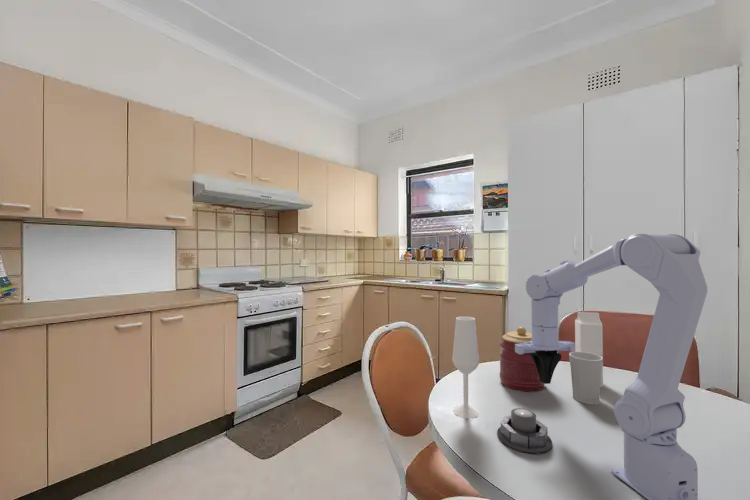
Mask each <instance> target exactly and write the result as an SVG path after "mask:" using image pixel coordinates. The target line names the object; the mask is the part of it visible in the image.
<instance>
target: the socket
mask: <svg viewBox="0 0 750 500" xmlns="http://www.w3.org/2000/svg"><path fill="white" fill-rule="evenodd" d="M548 431H549V430H548V427H547V426H546V425H545V424H543V423H542V422H541V421H540V420H538V419H536V433H530V434H526V433H523V432H519V431H516V430H513V429H512V428H511V415H505V416H504V417H503V419H502V420H501V421H500V427H498V429H497V430H496V435H497V438H498V440H499V441H500V442H501V443H502V445H504V446H506V447H508V448H510V449H512V450H514V451H515V452H516V451H517V452H520V453H523V454H527V455H528V454H530V455H541V454H546V453H548V452H549V451H551V450H552V448H553V441H552V439H551V438H550V436H549V435H548Z"/></svg>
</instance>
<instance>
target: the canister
mask: <svg viewBox="0 0 750 500" xmlns="http://www.w3.org/2000/svg"><path fill="white" fill-rule="evenodd" d="M501 338H502V339H503V340H501V341H500V342H499V344H498V345H499V347H500V352H499V379H500V383H501V384H502V385H503V386H505V387H508V388H509V389H512V390H517V391H520V392H521V391H522V392H538V391H541V390H544V388H545V385H546V384H545V383H543V382H541V381H540V378H539V374H538V371H537V368H536V365H535V363H534V361H533V359H532V357H531V355H530V353H524V354H518V353H516V352H515V344H521V343H525V342H530V341H531V340H532V332H527V330H526V328H525V327H523V326H519V327H518V328H517V329H516V330H515V331H508V332H507V333H505V334H503V335H502V336H501Z"/></svg>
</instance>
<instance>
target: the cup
mask: <svg viewBox="0 0 750 500" xmlns="http://www.w3.org/2000/svg"><path fill="white" fill-rule="evenodd" d="M568 357H569V365H570V376H571V384H572V385H571V387H572V398H573V399H574V400H575V401H577V402H579V403H583V404H586V405H587V404H588V405H598V404H600V399H601V398H600V394H601V392H600V391H601V387H600V383H601V371H602V363H603V364H604V357H603V358H602V357H601V356H599V355H596V354H592V353H587V352H575V351H570V352H569V353H568Z"/></svg>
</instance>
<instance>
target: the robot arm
mask: <svg viewBox="0 0 750 500" xmlns="http://www.w3.org/2000/svg"><path fill="white" fill-rule="evenodd" d="M700 255H701V251H700V249H699V248H698V247H696V246H695V245H694V244H693V243H692V242H691V241H690V240H689V239H688V238H687V237H685V236H683V235H680V234H674V233H673V234H671V233H670V234H648V233H635V234H632V235H630V236H629V237H627V238H623V239H620V240H617V241H616V242H615V243H614V244H612V245H610V246H608V247H605V249H603V250H601V251H599V252H597V253H595V254H593V255H591V256H590V257H587V258H585V259H584V260H582V261H581V262H577V261H574V260H570V261H569V260H563V261H560V262H559V266H557V267H555V268H553V269H546V270H545V271H544V273H543V274H541V275H540V274H532V275H530V277H528V279H527V280H526V281H525V282H526V283H525V291H526V293H527V295H528V296H529V297H530V298H531V300H530V301H531V302H530V303H531V333H532V340H531V341H530V342H525V343H521V344H515V352H516V353H518V354H524V353H530V355H531V357H532V359H533V361H534V363H535V365H536V368H537V371H538V374H539V378H540V381H541V382H543V383H545V384H544V385H548V384H551V382H552V380H553V379H552V378H553V375H554V372H555V370H556V367H557V365H558V364H559V362H560V361H561V360H562V354H561V353H559V352H565V351H566V352H567V351H569V352H575V342H572V341H569V340H559V306H560V305H561V298H562V296H563V295H564V294H565V293H567V292H568V293H569V292H570V291H573V290H575V289H578V288H580V287H583V286H585V285H586V284H587V282H588V280H589V279H588V278H589V277H591V276H595V275H597V274H601V273H603V272H606V271H608V270H611V269H613V268H614V269H615V268H617V267H620V266H627V267H628V268H629V269H631V270H632V271H633V272H635V273H637V274H638V275H639V276H640V277H642V278H643V279H644V280H645V279H646V280H647V281H648V282H649V283H651V285H652V286H653V287H654V288H655V289H656V291H657V292H658V294H659V296H658V300H657V304H656V307H655V312H654V314H653V318H652V322H651V324H650V325H651V326H650V329H649V334H648V336H647V340H646V345H645V348H644V351H643V353H642V358H641V362H640V365H639V368H638V369H639V370H638V372H637V377H635V379H634V380H633V381H632V382H631V383H630V384H628V386H626V387H625V389H624V392H623V395H622V397H620V398H619V399H618V400H617V401H616V402H615V403H614V406H613V413H614V418H615V420H616V422H617V423H618V425H619V426H620V428H621V431H622V432H623V467H621V468H619V467H618V468H612V469H611V473H612V474H613V475H615V476H616V477H617V478H618V479H620V480H621V481H623V482H624V483H625V484H627V485H628V486H629V487H631V488H632V489H634V490H635V492H637V493H639V494H640V495H641V496H642V497H644V498H645V499H646V500H698V499H700V498H699V495H698V493H699V491H698V490H699V489H698V487H699V485H698V480H699V479H698V477H699V476H698V473H699V472H698V470H699V469H698V463H697V461H696V459H695V458H694V457H693V455H691V454H690V453H688V452H687V451H686V450H685V449H683V448H682V446H681V445H680V444H679V443H678V440H677V436H678V432H677V430H678V429H680V428H682V427H683V426H684V424H685V423H686V417H687V416H686V412H685V409H684V401H685V398H686V397H685V395H684V394H683V393H682V392H681V391H680V390H679V386H680V383H681V380H682V375H683V372H684V370H685V367H686V362H687V360H688V356H689V353H690V349H691V346H692V343H693V341H694V336H695V333H696V330H697V326H698V323H699V320H700V317H701V314H702V311H703V307H704V305H705V302H706V298H707V294H708V285H707V282H706V279H705V276H704V273H703V271H702V266H701V264H700V260H699V259H700Z"/></svg>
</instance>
